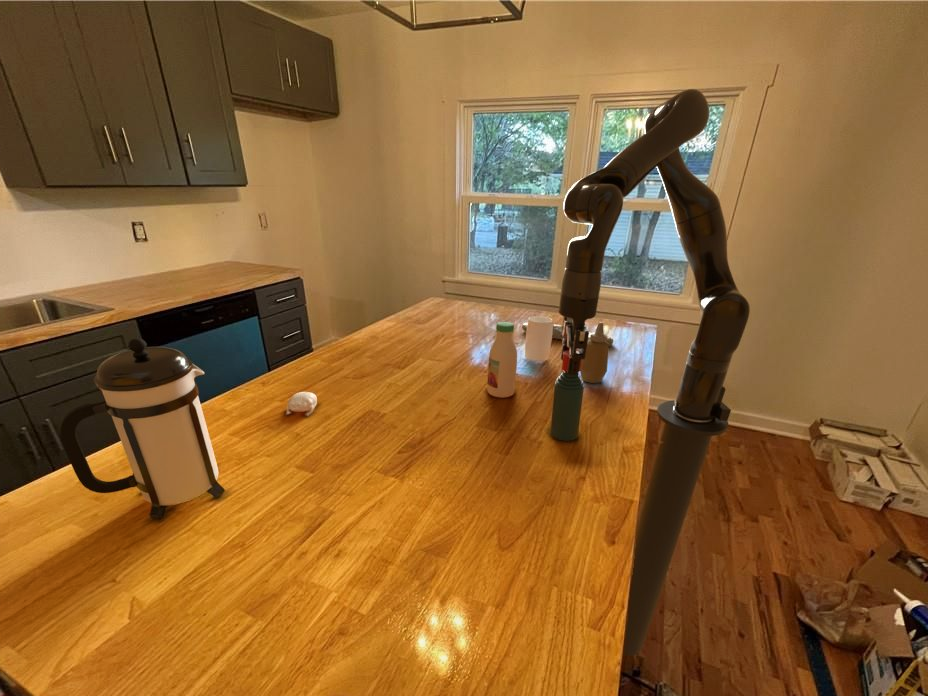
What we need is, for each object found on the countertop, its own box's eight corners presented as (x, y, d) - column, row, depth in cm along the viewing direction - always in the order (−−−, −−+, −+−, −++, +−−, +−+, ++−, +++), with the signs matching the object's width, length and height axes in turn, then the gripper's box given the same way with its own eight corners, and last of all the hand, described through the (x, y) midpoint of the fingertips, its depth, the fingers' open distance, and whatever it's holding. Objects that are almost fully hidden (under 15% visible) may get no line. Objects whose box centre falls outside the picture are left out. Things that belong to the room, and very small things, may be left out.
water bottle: (566, 424, 104) (574, 349, 95) (583, 437, 98) (594, 359, 90) (544, 430, 101) (551, 354, 93) (561, 443, 96) (569, 364, 88)
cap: (581, 367, 94) (583, 351, 92) (579, 374, 91) (581, 357, 89) (563, 364, 95) (564, 349, 94) (560, 371, 92) (562, 355, 90)
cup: (523, 354, 145) (527, 314, 139) (548, 356, 145) (552, 316, 139) (524, 364, 138) (528, 322, 132) (550, 365, 137) (555, 323, 131)
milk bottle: (513, 386, 122) (519, 320, 114) (515, 399, 115) (521, 328, 107) (486, 385, 123) (490, 319, 114) (487, 397, 116) (490, 327, 107)
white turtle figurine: (309, 417, 104) (307, 403, 102) (282, 415, 104) (280, 402, 102) (321, 402, 111) (319, 389, 109) (296, 400, 111) (294, 387, 110)
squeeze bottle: (587, 386, 124) (597, 327, 116) (572, 375, 131) (580, 319, 123) (610, 383, 126) (621, 325, 118) (594, 373, 133) (604, 317, 125)
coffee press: (175, 462, 86) (129, 320, 73) (247, 473, 84) (212, 327, 71) (94, 523, 70) (17, 356, 58) (179, 538, 68) (119, 367, 55)
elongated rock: (609, 353, 152) (612, 346, 161) (612, 339, 150) (616, 333, 159) (517, 332, 165) (525, 327, 173) (519, 319, 163) (527, 314, 171)
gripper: (555, 284, 92) (547, 354, 99) (568, 300, 79) (557, 380, 86) (590, 285, 92) (579, 355, 99) (608, 302, 79) (594, 381, 86)
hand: (569, 367), depth 92 cm, fingers open, 7 cm apart
